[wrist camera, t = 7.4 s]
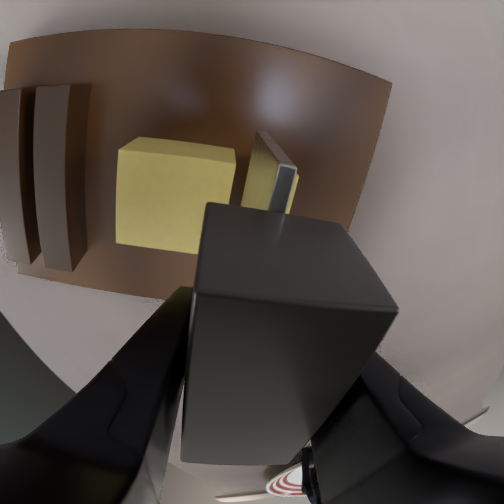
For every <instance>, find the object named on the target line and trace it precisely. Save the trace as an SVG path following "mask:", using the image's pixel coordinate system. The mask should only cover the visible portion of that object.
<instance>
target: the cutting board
mask: <svg viewBox="0 0 504 504" xmlns="http://www.w3.org/2000/svg"><path fill="white" fill-rule="evenodd" d="M391 88H392V83H391V82H388V81H386V80H384V79H381V78H379V77H376V76H374V75H371V74H369V73H366V72H363V71H361V70H358V69H355V68H353V67H350V66H347V65H344V64H341V63H338V62H335V61H332V60H329V59H326V58H322V57H319V56H316V55H312V54H309V53H305V52H302V51H298V50H294V49H290V48H286V47H282V46H278V45H273V44H269V43H264V42H259V41H254V40H249V39H243V38H237V37H231V36H224V35H217V34H210V33H201V32H191V31H179V30H162V29H106V30H89V31H78V32H69V33H60V34H53V35H46V36H40V37H35V38H29V39H24V40H19V41H15V42H11V43H10V46H9V52H8V59H7V65H6V73H5V82H4V90H1V91H0V222H1V228H2V234H3V239H4V244H5V249H6V254H7V258H8V260H10V261H15V262H16V265H17V269H18V273H19V274H23V275H28V276H33V277H37V278H42V279H47V280H52V281H57V282H62V283H67V284H72V285H77V286H83V287H88V288H94V289H99V290H105V291H111V292H117V293H123V294H129V295H136V296H142V297H149V298H155V299H162V300H167V299H168V298H169V297H170V296H171V295H172V293H173V292H174V291H175V290H176V289H177V288H178V287H179V286H181V285H185V286H192V287H193V286H194V278H195V271H196V263H197V256H198V254H191V253H184V252H177V251H169V250H162V249H155V248H148V247H141V246H133V245H126V244H119V243H116V185H117V165H118V150H119V149H120V148H122V147H123V146H125V145H127V144H128V143H130V142H131V141H133V140H134V139H136V138H138V137H147V138H157V139H167V140H175V141H184V142H191V143H199V144H206V145H213V146H220V147H226V148H232V149H234V151H235V160H236V168H235V173H234V178H233V184H232V189H231V194H230V199H229V205H236V206H241V202H242V197H243V192H244V187H245V183H246V178H247V173H248V168H249V163H250V159H251V154H252V149H253V144H254V140H255V135H256V131H263V132H267V133H268V134H269V135H270V136H271V138H272V139H273V140H274V141H275V142H276V143H277V144H278V146H279V147H280V148H281V149H282V150H283V151H284V153H285V154H286V155H287V156H288V157H289V159H290V160H291V161H292V162H293V163H294V165H295V166H296V167H297V172H296V173H297V174H298V175H299V179H298V182H297V186H296V190H295V194H294V197H293V201H292V205H291V208H290V212H289V214H291V215H297V216H303V217H308V218H314V219H319V220H325V221H330V222H336V223H340V224H341V225H342V226H343V227H344V229H345V230H346V232H348V229H349V226H350V223H351V221H352V218H353V215H354V212H355V209H356V206H357V203H358V200H359V197H360V194H361V191H362V188H363V185H364V182H365V179H366V176H367V173H368V170H369V166H370V163H371V160H372V157H373V153H374V150H375V147H376V143H377V140H378V136H379V133H380V129H381V126H382V122H383V119H384V115H385V111H386V107H387V103H388V100H389V96H390V92H391Z"/></svg>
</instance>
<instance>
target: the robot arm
mask: <svg viewBox="0 0 504 504" xmlns="http://www.w3.org/2000/svg"><path fill="white" fill-rule="evenodd" d="M192 294H193V287H192V286H185V285H181V286H179V287H178V288H177V289H176V290H175V291H174V292H173V293H172V295H171V296H170V297H169V298H168V299H167V300H166V301H165V302H164V303H163V304H162V305H161V306H160V307H159V308H158V309H157V310H156V311H155V312H154V314H153V315H152V316H151V317H150V318H149V319H148V320H147V321H146V322H145V323H144V324H143V325H142V326H141V327H140V328H139V330H138V331H137V332H136V333H135V334H134V335H133V336H132V337H131V338H130V339H129V340H128V341H127V342H126V344H125V345H124V346H123V347H122V348H121V349H120V350H119V351H118V352H117V353H116V354H115V356H114V357H113V358H112V361H111V360H110V361H109V362H108V363H107V364H106V365H105V366H104V367H103V369H102V370H101V371H100V372H99V373H98V374H97V375H96V376H95V377H94V378H93V379H92V380H91V381H90V382H89V383H88V384H87V385H86V386H85V387H84V388H83V389H81V390H80V391H79V392H78V393H77V394H76V395H75V396H74V397H73V398H71V399H70V400H69V401H68V402H67V403H66V404H65V405H64V406H62V407H61V408H60V409H59V410H57V411H56V412H55V413H54V414H53V415H52V416H50V417H49V418H48V419H47V420H46V421H45V422H43V423H42V424H41V425H40V426H39V427H38V428H36V429H35V430H34V431H32V432H31V433H30V434H28V435H27V436H25V437H23V438H21V439H19V440H17V441H14V442H11V443H7V444H3V445H0V504H160V499H161V492H162V488H163V481H164V476H165V472H166V466H167V461H168V456H169V451H170V446H171V441H172V436H173V431H174V427H175V422H176V417H177V412H178V408H179V403H180V398H181V394H182V389H183V385H184V380H185V368H186V356H187V344H188V333H189V323H190V313H191V303H192ZM311 444H312V447H305V448H302V454H301V455H300V457H301V463H302V485H301V491H302V493H303V494H305V495H307V497H308V498H309V501H310V502H311V504H504V437H499V436H485V435H481V434H477V433H475V432H473V431H471V430H469V429H467V428H466V427H465V426H463V425H462V424H461V423H459V422H458V421H457V420H455V419H454V418H453V417H451V416H450V415H449V414H447V413H446V412H445V411H444V410H442V409H441V408H440V407H438V406H437V405H436V404H435V403H433V402H432V401H431V400H430V399H428V398H427V397H426V396H424V395H423V394H422V393H421V392H420V391H419V390H418V389H416V388H415V387H414V386H413V385H412V384H411V383H410V382H408V381H407V380H406V379H405V378H404V377H403V376H400V373H398V372H397V371H396V370H395V369H394V368H393V367H392V366H391V365H390V364H389V363H387V362H386V361H385V360H384V359H383V358H382V357H381V356H380V355H379V354H378V353H376V352H375V353H374V354H373V356H372V357H371V359H370V360H369V362H368V363H367V365H366V366H365V368H364V369H363V371H362V372H361V374H360V375H359V376H358V378H357V379H356V381H355V382H354V384H353V385H352V386H351V388H350V389H349V391H348V392H347V393H346V395H345V396H344V397H343V399H342V400H341V401H340V403H339V404H338V405H337V407H336V408H335V409H334V411H333V412H332V413H331V415H330V416H329V417H328V418H327V420H326V421H325V422H324V423H323V425H322V426H321V427H320V428H319V429H318V431H317V432H316V433H315V434H314V436H313V437H312V438H311Z"/></svg>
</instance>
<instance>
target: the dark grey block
mask: <svg viewBox="0 0 504 504" xmlns="http://www.w3.org/2000/svg"><path fill="white" fill-rule="evenodd" d="M296 172H297V167H296V166H295V165H294V163H293V162H292V161H291V160H290V159H289V157H288V156H287V155H286V154H285V153H284V151H283V150H282V149H281V148H280V147H279V146H278V144H277V143H276V142H275V141H274V140H273V139H272V138H271V136H270V135H269V134H268V133H267V132H263V131H256V135H255V140H254V144H253V149H252V154H251V159H250V163H249V168H248V173H247V178H246V183H245V187H244V192H243V197H242V202H241V206H236V205H229V204H222V203H215V202H207V203H206V205H205V210H204V217H203V223H202V229H201V236H200V243H199V249H198V256H197V263H196V271H195V278H194V286H193V294H192V303H191V313H190V323H189V333H188V344H187V356H186V368H185V382H184V397H183V414H182V434H181V461H182V462H188V463H200V464H216V465H282V464H289V463H290V462H291V461H292V460H293V458H294V457H295V456H296V455H297V454H298V453H299V452H300V451H301V450H302V448H303V447H304V446H305V445H306V444H307V443H308V441H309V440H310V439H311V438H312V437H313V436H314V434H315V433H316V432H317V431H318V429H319V428H320V427H321V426H322V425H323V423H324V422H325V421H326V420H327V418H328V417H329V416H330V415H331V413H332V412H333V411H334V409H335V408H336V407H337V405H338V404H339V403H340V401H341V400H342V399H343V397H344V396H345V395H346V393H347V392H348V391H349V389H350V388H351V386H352V385H353V384H354V382H355V381H356V379H357V378H358V376H359V375H360V374H361V372H362V371H363V369H364V368H365V366H366V365H367V363H368V362H369V360H370V359H371V357H372V356H373V354H374V353H375V351H376V349H377V348H378V346H379V345H380V343H381V341H382V340H383V338H384V337H385V335H386V333H387V332H388V330H389V328H390V327H391V325H392V323H393V322H394V320H395V318H396V316H397V315H398V313H399V307H398V306H397V304H396V303H395V301H394V299H393V298H392V296H391V295H390V293H389V292H388V290H387V289H386V287H385V286H384V284H383V283H382V281H381V280H380V278H379V277H378V275H377V274H376V272H375V271H374V269H373V268H372V267H371V265H370V264H369V262H368V261H367V259H366V258H365V257H364V255H363V254H362V252H361V251H360V249H359V248H358V247H357V245H356V244H355V242H354V241H353V240H352V238H351V237H350V236H349V234H348V233H347V232H346V230H345V229H344V227H343V226H342V225H341V224H340V223H336V222H330V221H325V220H319V219H314V218H308V217H303V216H297V215H291V214H286V210H287V206H288V203H289V199H290V195H291V191H292V187H293V184H294V180H295V176H296Z"/></svg>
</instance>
